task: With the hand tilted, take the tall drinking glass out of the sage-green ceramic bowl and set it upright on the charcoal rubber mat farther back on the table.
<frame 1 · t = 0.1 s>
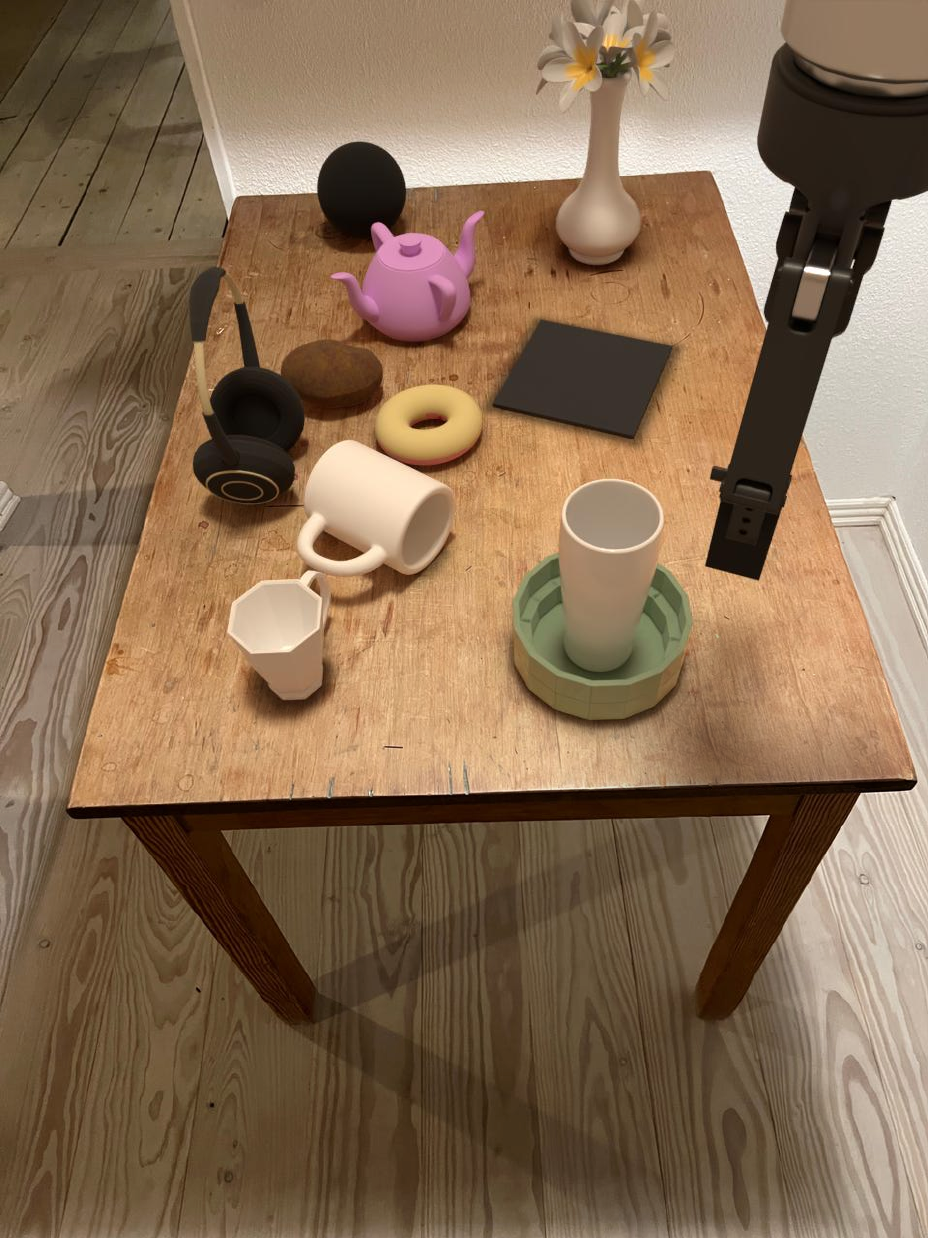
hand: (761, 478, 51), 24 cm above the table, tool pointing down, fingers open, 13 cm apart
drinking glass: (597, 648, 73), resting on bowl
potato: (336, 400, 93), on the table
donut: (430, 438, 89), on the table
headphones: (261, 476, 87), on the table
mat: (584, 377, 93), on the table
flower vase: (593, 248, 107), on the table
mug: (371, 555, 81), on the table
decorative ball: (367, 233, 111), on the table
cup: (305, 664, 74), on the table
bowl: (597, 650, 73), on the table
teapot: (416, 316, 101), on the table
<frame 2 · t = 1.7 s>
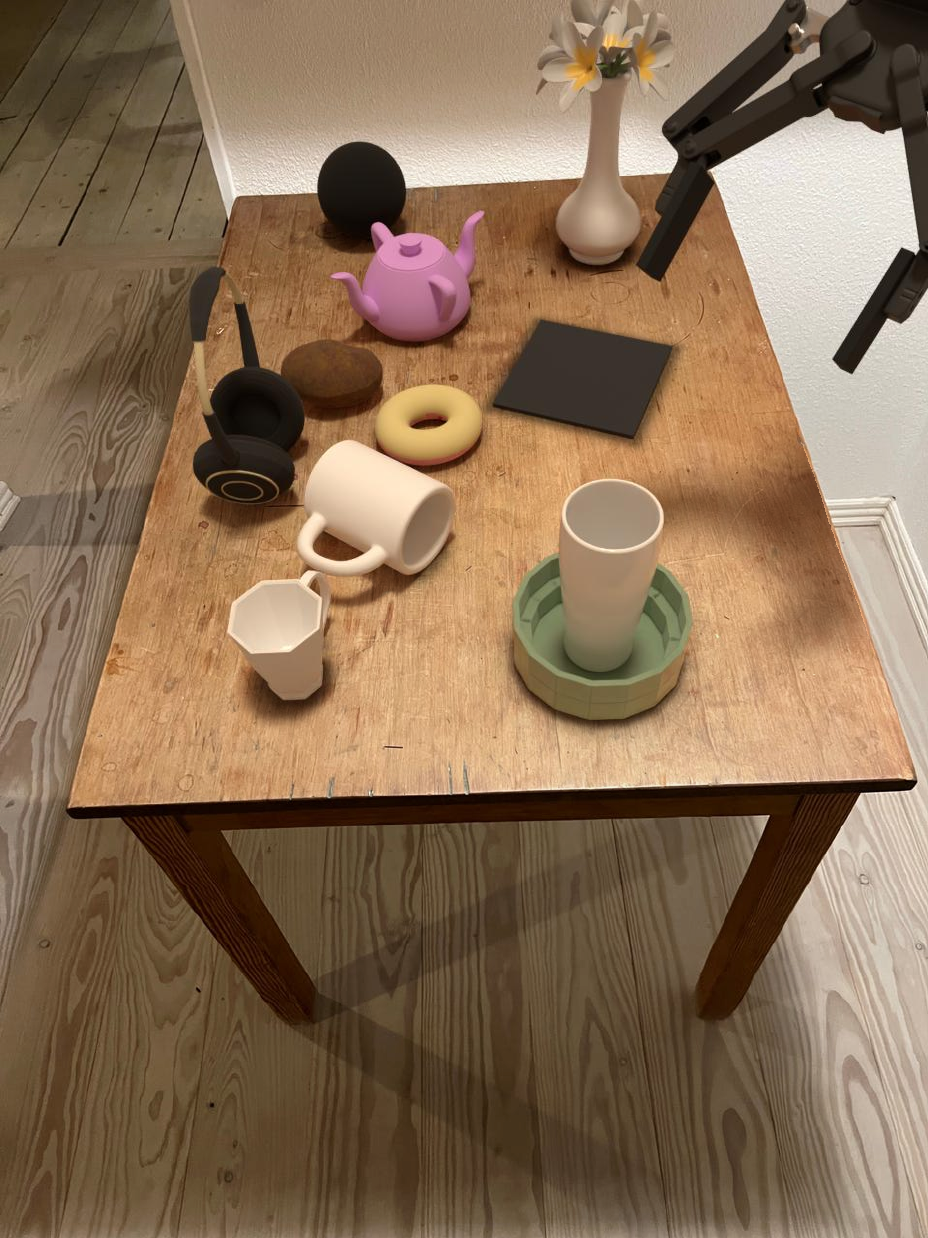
hand: (739, 318, 56), 26 cm above the table, tool tilted 45°, fingers open, 13 cm apart
nothing on the table moved.
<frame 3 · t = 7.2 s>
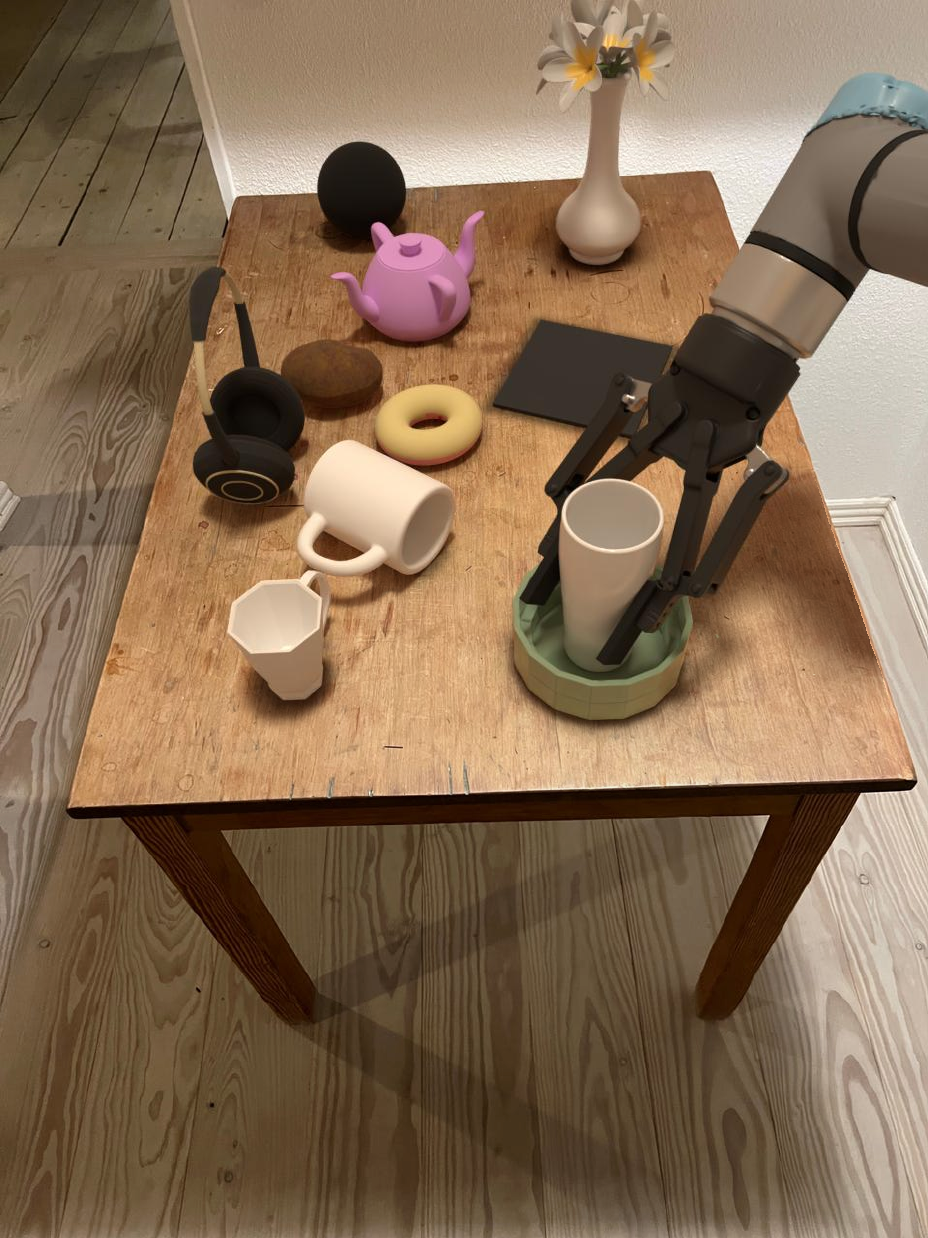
hand: (569, 630, 67), 6 cm above the table, tool tilted 45°, fingers closed on drinking glass, 7 cm apart
drinking glass: (597, 648, 73), resting on bowl, touching gripper
everything else where it was.
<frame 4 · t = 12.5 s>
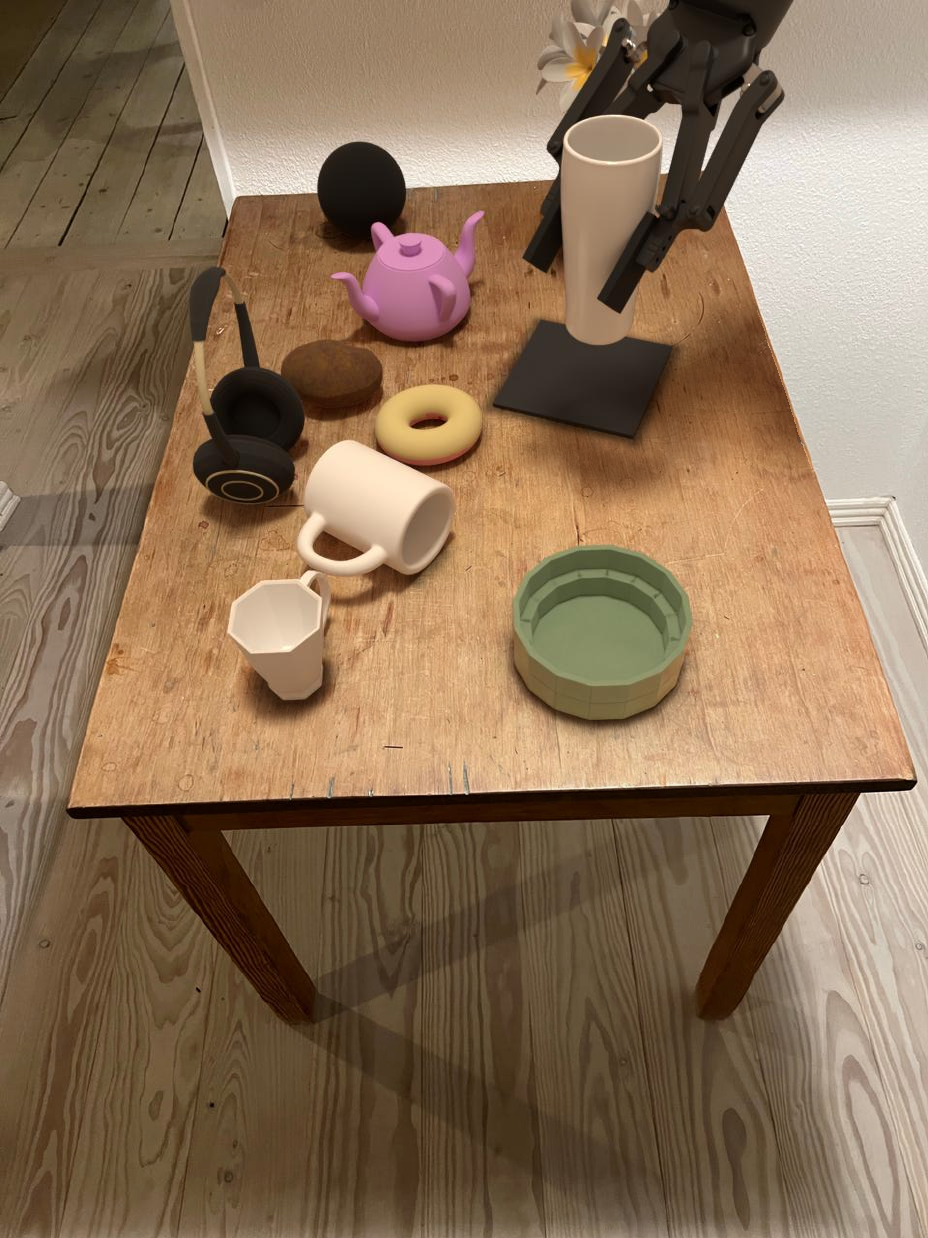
hand: (570, 285, 69), 20 cm above the table, tool tilted 45°, fingers closed on drinking glass, 7 cm apart
drinking glass: (598, 329, 75), point 14 cm above the table, touching gripper
everything else where it was.
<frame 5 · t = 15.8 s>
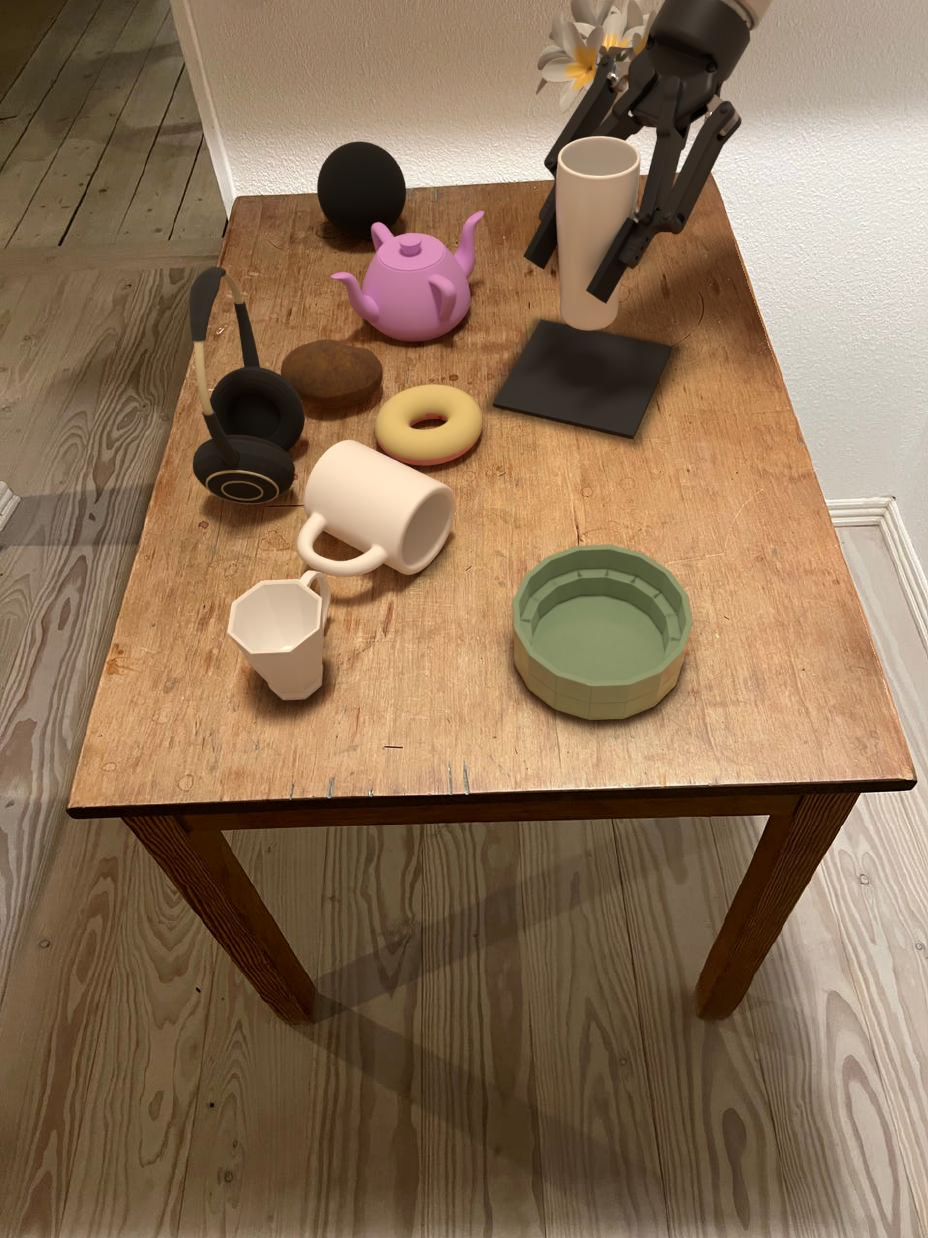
hand: (564, 279, 82), 13 cm above the table, tool tilted 45°, fingers closed on drinking glass, 7 cm apart
drinking glass: (588, 317, 88), point 7 cm above the table, touching gripper
everything else where it was.
when the fingers open (6 cm above the table, at t = 18.0 s): drinking glass stays where it is, resting on mat.
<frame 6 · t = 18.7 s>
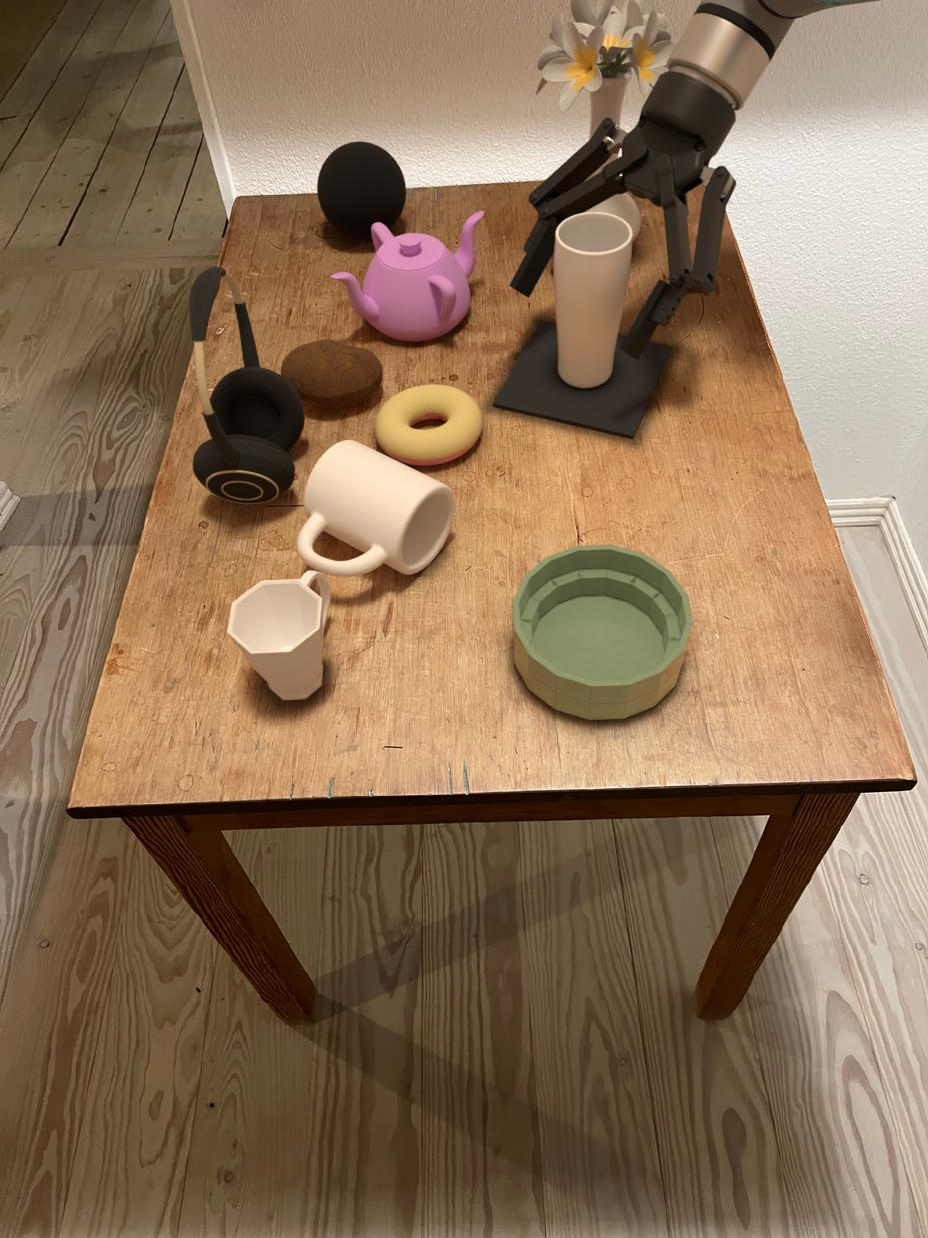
hand: (571, 322, 86), 8 cm above the table, tool tilted 45°, fingers open, 13 cm apart
drinking glass: (584, 375, 93), resting on mat
everything else where it was.
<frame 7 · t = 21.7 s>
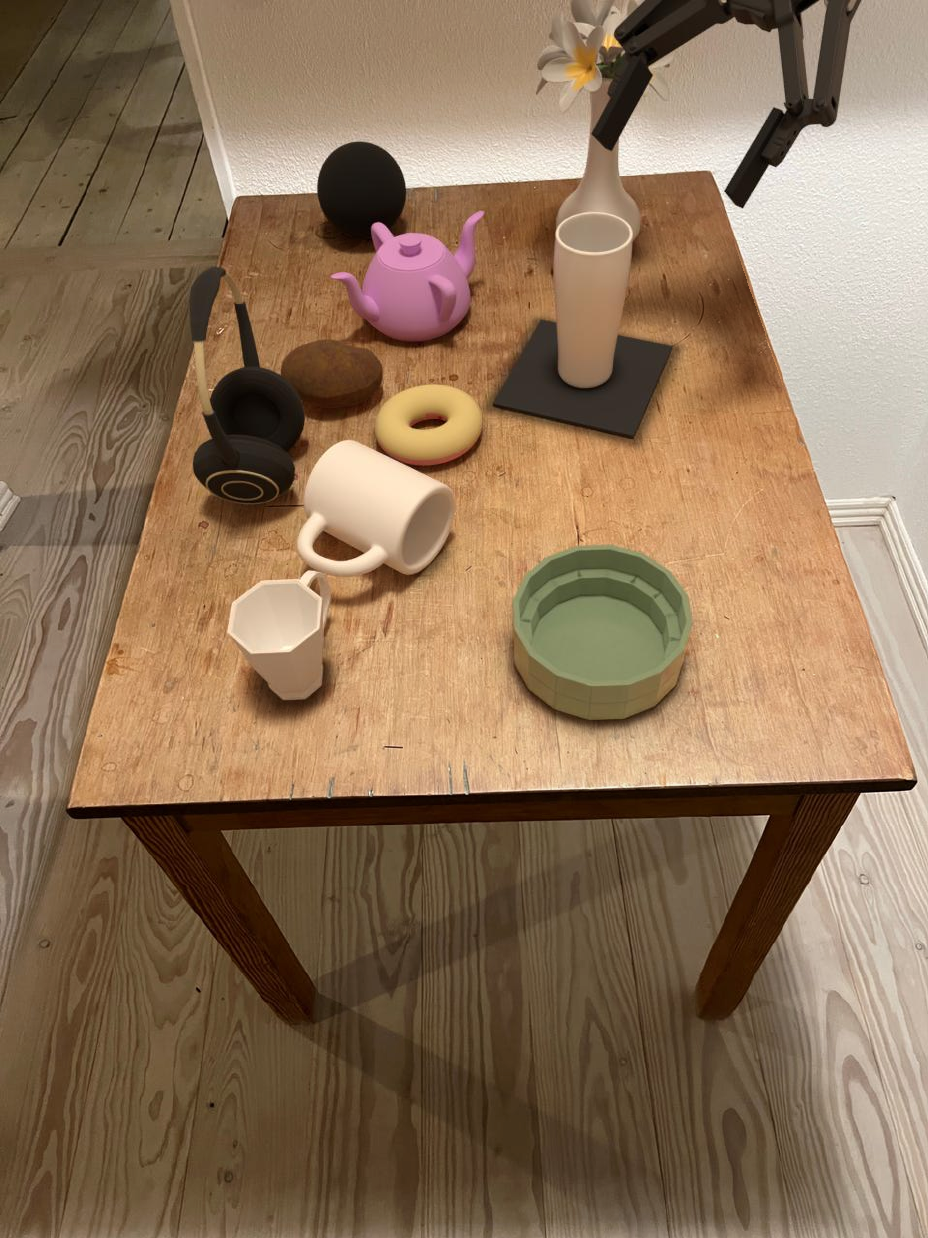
hand: (664, 170, 76), 21 cm above the table, tool tilted 45°, fingers open, 13 cm apart
nothing on the table moved.
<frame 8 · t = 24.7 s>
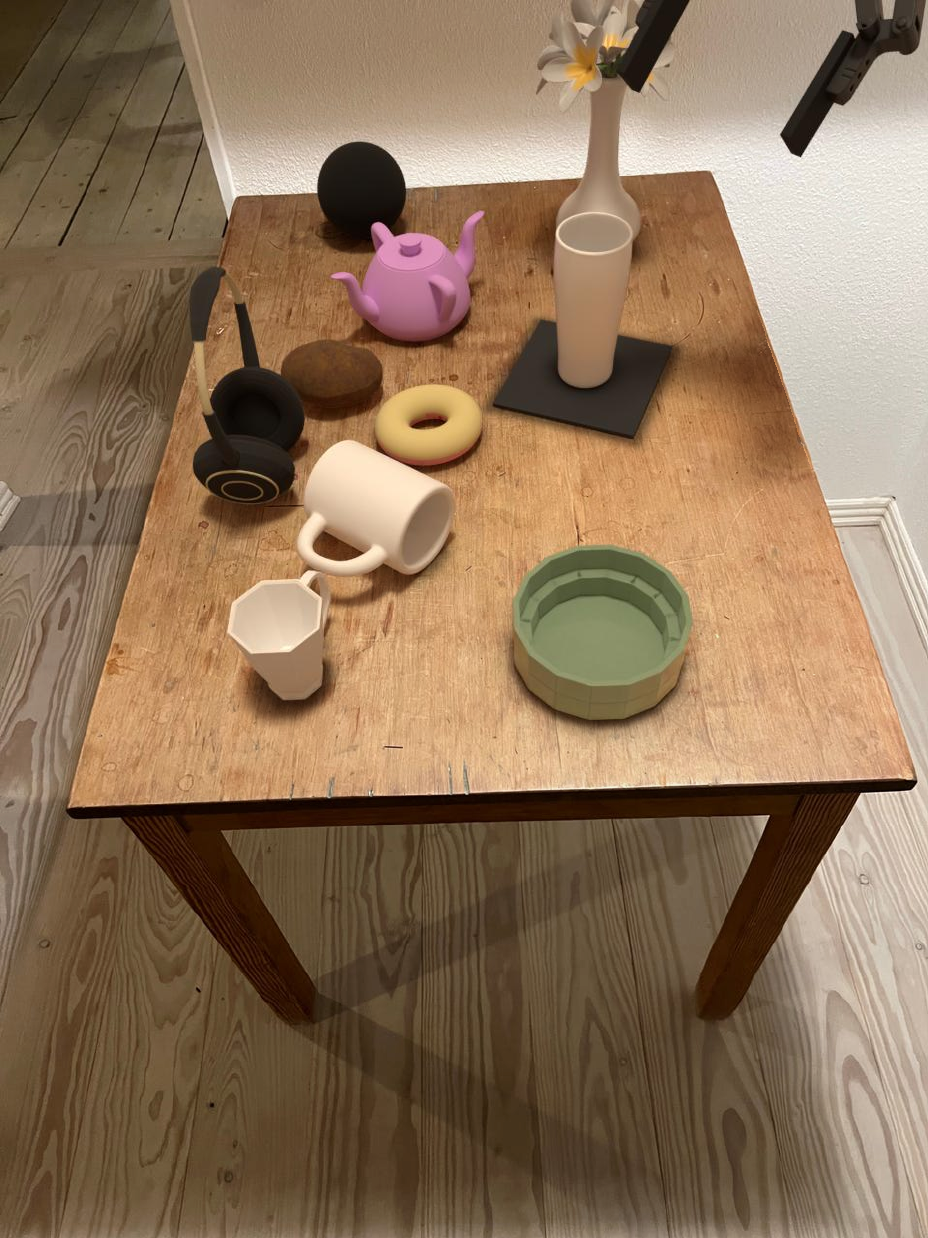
hand: (704, 113, 63), 30 cm above the table, tool tilted 45°, fingers open, 13 cm apart
nothing on the table moved.
at the end: drinking glass inside the target area on the mat (0.0 cm from its centre), point 0.2 cm above the mat's base; drinking glass tilted 0°; drinking glass touching mat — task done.
